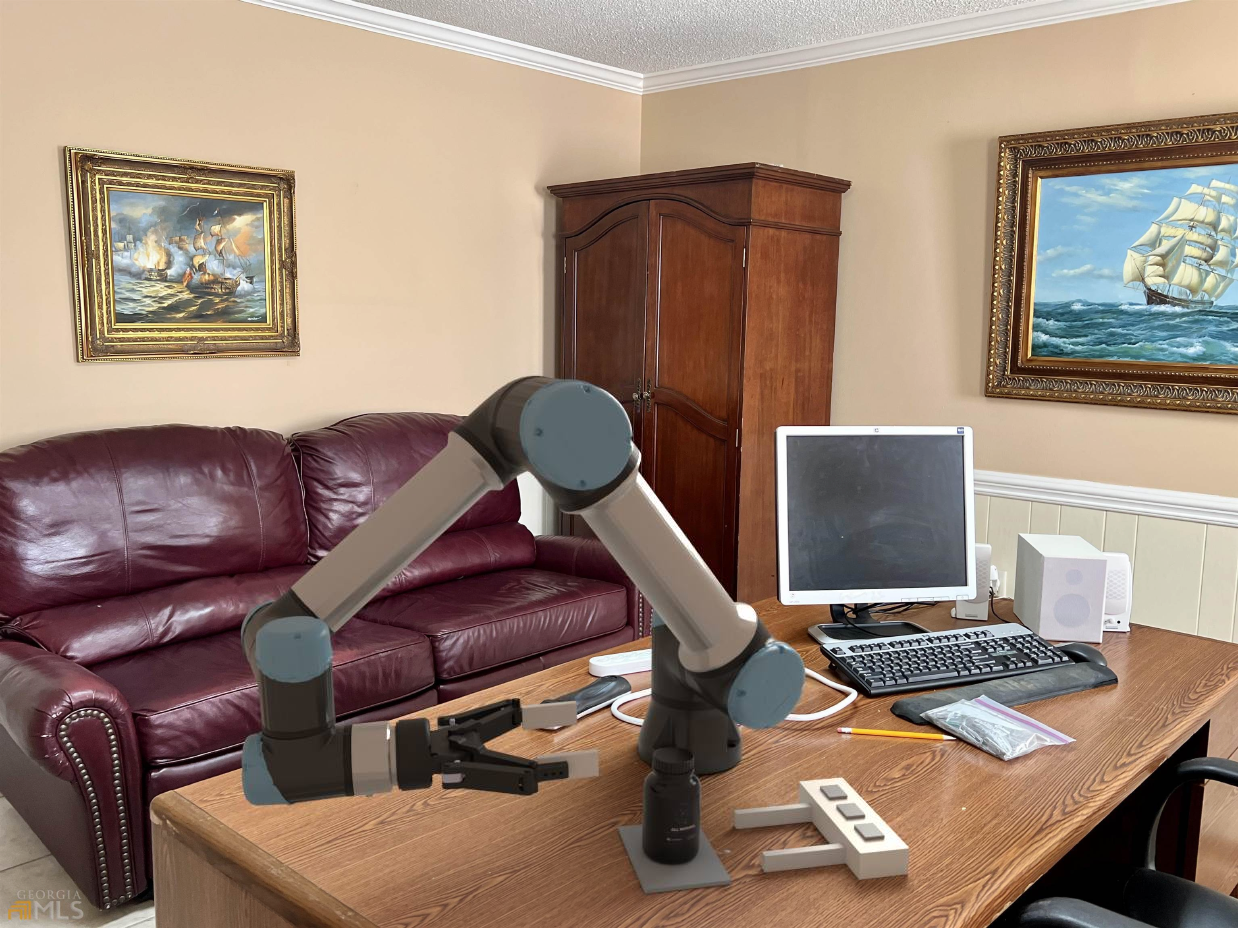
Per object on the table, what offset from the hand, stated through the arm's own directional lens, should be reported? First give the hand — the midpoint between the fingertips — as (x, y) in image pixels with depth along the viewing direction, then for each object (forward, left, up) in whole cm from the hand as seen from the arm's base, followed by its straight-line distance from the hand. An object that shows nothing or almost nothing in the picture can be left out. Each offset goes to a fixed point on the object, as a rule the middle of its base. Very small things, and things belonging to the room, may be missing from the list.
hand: (587, 735), depth 113 cm
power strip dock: (0, +28, -16) cm, 32 cm away
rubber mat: (0, +10, -16) cm, 19 cm away
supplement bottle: (0, +10, -15) cm, 19 cm away
